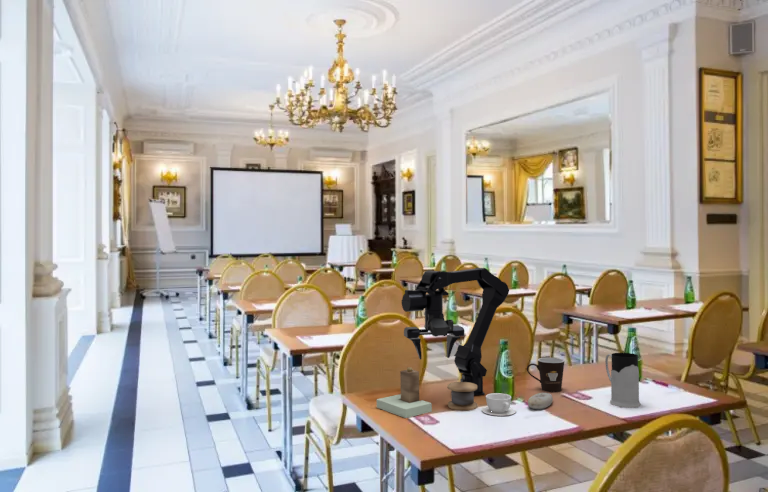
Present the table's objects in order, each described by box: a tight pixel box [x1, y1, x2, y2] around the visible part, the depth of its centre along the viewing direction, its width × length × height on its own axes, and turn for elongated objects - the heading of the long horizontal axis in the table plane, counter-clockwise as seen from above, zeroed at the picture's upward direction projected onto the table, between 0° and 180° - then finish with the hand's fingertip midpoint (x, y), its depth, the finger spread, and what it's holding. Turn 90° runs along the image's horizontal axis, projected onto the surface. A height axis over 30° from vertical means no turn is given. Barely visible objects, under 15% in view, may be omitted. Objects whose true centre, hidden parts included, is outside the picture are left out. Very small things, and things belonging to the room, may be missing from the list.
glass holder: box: [605, 352, 642, 409], centre depth 182 cm, size 9×14×15 cm, turn 12°
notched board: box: [376, 393, 433, 419], centre depth 176 cm, size 10×14×2 cm
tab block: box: [399, 366, 420, 403], centre depth 178 cm, size 4×4×12 cm
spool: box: [447, 381, 478, 412], centre depth 179 cm, size 9×9×6 cm
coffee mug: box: [526, 357, 565, 393], centre depth 198 cm, size 12×9×10 cm
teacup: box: [481, 392, 517, 417], centre depth 173 cm, size 10×10×5 cm
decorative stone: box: [527, 392, 554, 410], centre depth 179 cm, size 6×16×3 cm, turn 148°
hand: (434, 358), depth 187 cm, fingers open, 9 cm apart
